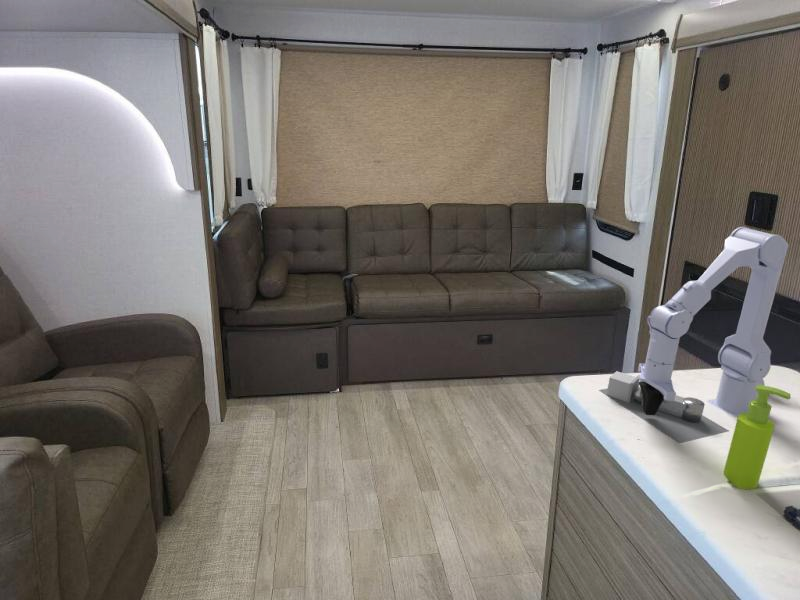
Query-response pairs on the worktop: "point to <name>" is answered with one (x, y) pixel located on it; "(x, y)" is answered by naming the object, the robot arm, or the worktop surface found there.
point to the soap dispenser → (751, 440)
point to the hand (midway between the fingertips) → (649, 413)
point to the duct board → (658, 412)
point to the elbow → (679, 407)
